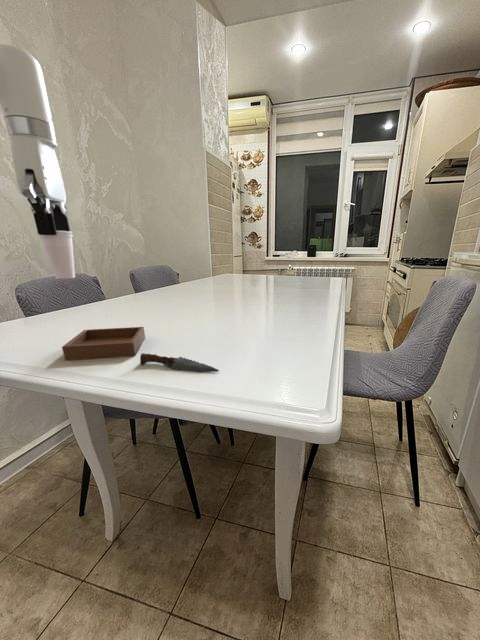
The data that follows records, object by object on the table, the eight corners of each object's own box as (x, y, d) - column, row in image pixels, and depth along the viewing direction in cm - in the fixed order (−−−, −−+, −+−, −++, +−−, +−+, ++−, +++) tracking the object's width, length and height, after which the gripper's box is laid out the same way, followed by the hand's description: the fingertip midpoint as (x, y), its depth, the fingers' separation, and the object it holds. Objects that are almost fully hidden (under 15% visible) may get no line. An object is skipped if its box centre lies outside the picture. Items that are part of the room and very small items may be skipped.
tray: (65, 360, 60) (61, 346, 59) (86, 341, 71) (84, 329, 70) (135, 355, 62) (133, 342, 61) (145, 338, 74) (143, 326, 73)
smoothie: (51, 276, 67) (35, 209, 62) (83, 275, 69) (70, 211, 64) (45, 279, 61) (26, 206, 56) (80, 278, 64) (65, 208, 59)
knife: (134, 356, 57) (152, 342, 60) (137, 364, 58) (155, 350, 61) (203, 381, 50) (219, 363, 54) (205, 389, 52) (220, 372, 55)
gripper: (33, 147, 63) (54, 236, 69) (-21, 115, 47) (12, 234, 53) (72, 149, 65) (88, 236, 71) (31, 119, 49) (57, 234, 55)
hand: (55, 234), depth 62 cm, fingers closed on smoothie, 6 cm apart
